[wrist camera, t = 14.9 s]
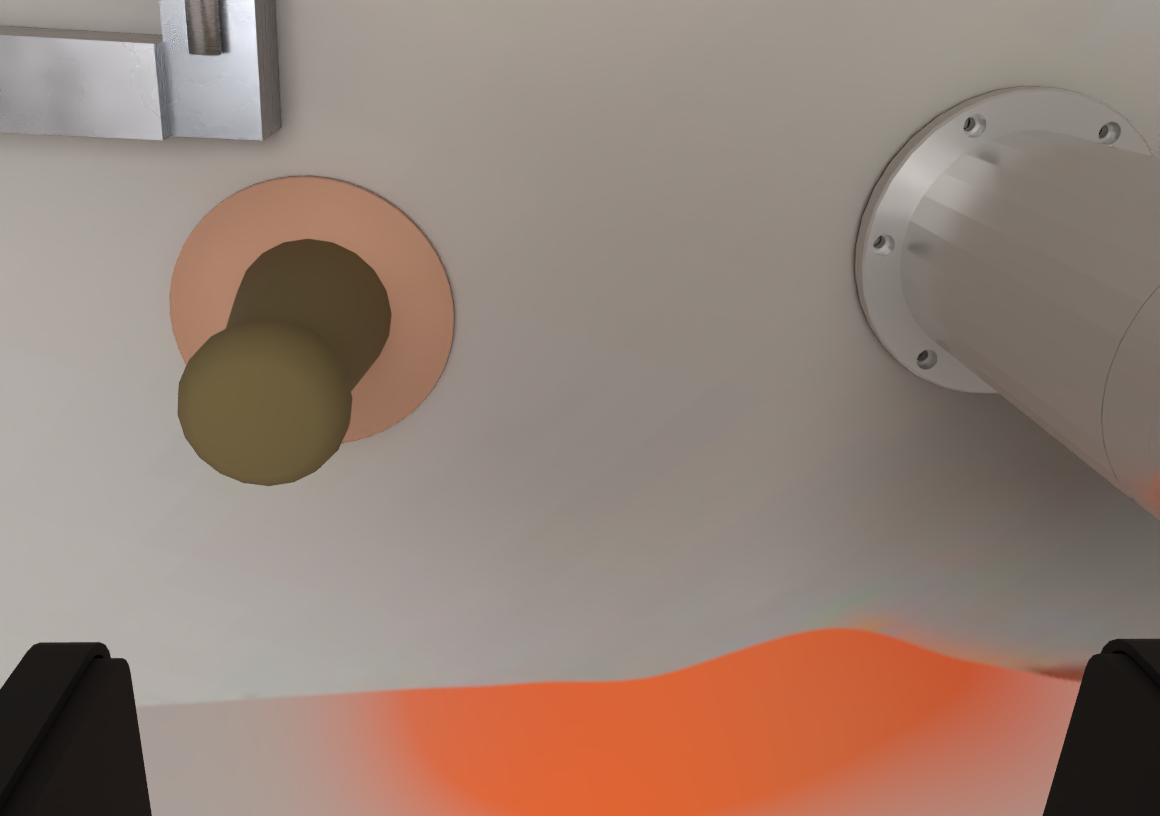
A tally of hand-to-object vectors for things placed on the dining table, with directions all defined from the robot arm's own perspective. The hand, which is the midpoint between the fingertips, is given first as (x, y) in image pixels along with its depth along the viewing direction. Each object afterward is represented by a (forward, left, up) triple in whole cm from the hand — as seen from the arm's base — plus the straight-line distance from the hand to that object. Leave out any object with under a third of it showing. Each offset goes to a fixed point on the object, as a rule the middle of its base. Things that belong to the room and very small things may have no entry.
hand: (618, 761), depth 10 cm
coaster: (+8, +6, -32) cm, 33 cm away
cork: (+8, +5, -32) cm, 33 cm away
